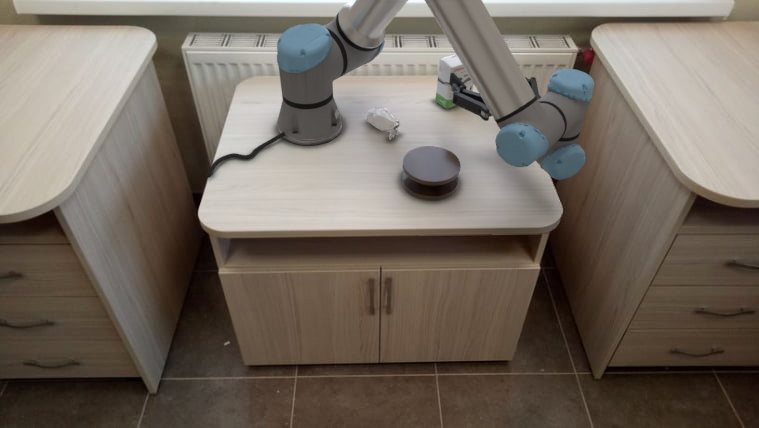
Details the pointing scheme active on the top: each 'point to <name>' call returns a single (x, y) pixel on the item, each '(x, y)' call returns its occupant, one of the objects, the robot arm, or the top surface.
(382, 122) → the crumpled white bag
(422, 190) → the stand
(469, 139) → the top surface
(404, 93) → the top surface
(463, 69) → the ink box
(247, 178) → the top surface
